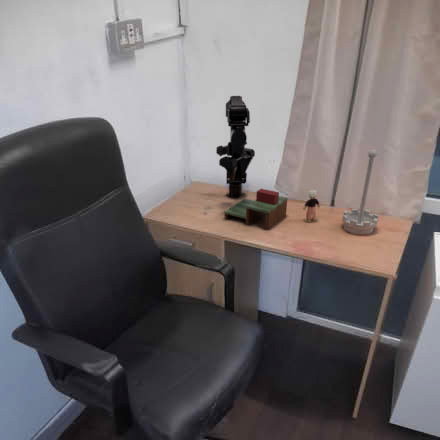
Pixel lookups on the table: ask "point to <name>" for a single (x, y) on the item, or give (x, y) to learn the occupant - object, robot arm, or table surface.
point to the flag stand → (362, 209)
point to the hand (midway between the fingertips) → (237, 178)
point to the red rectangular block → (267, 196)
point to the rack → (259, 211)
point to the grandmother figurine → (311, 206)
